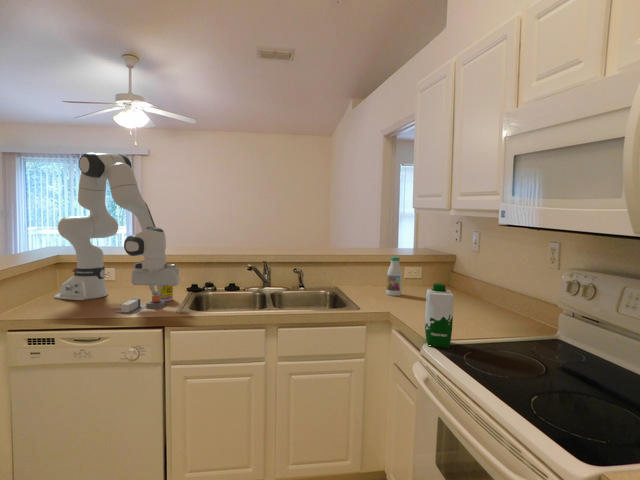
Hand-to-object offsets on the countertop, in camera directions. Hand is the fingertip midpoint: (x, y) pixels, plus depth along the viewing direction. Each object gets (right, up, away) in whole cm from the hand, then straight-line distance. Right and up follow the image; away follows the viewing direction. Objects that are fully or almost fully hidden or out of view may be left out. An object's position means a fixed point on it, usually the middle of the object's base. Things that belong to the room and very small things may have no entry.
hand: (156, 295), depth 172 cm
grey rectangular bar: (-8, -5, -5) cm, 11 cm away
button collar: (0, -5, +1) cm, 5 cm away
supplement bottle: (-1, -4, +13) cm, 13 cm away
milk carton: (+113, -11, -39) cm, 120 cm away
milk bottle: (+112, -5, +34) cm, 117 cm away
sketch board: (-8, -5, -5) cm, 11 cm away
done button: (0, -3, +1) cm, 3 cm away
